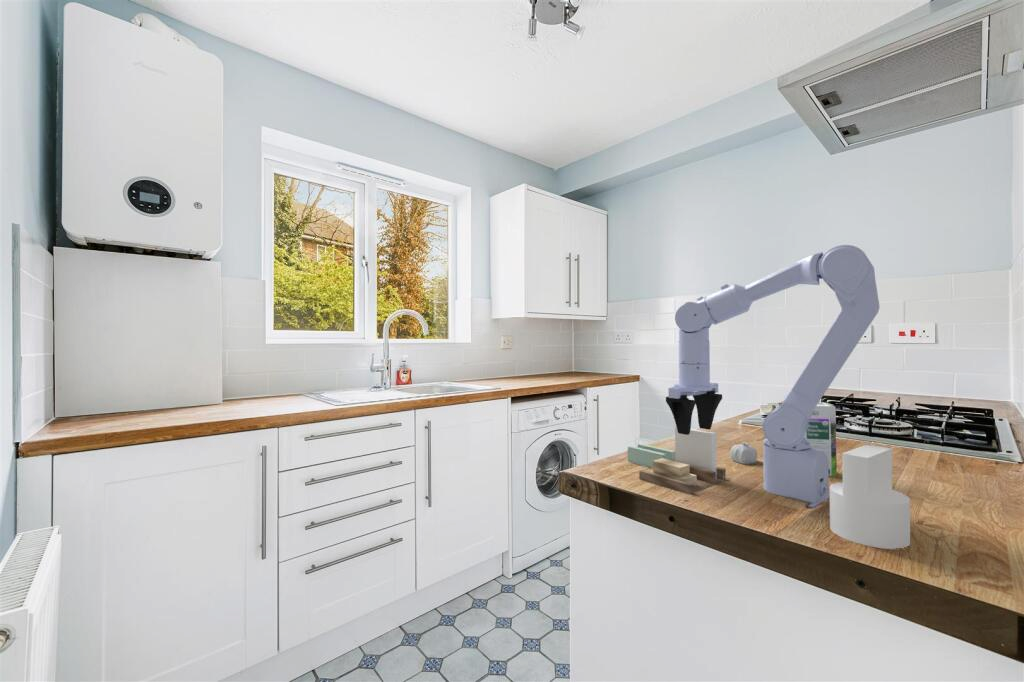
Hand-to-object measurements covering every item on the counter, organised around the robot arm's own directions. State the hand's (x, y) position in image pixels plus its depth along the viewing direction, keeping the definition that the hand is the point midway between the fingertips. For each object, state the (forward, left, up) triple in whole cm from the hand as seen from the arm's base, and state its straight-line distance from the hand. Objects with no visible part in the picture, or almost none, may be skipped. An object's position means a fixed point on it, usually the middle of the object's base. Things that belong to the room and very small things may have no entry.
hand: (694, 431), depth 89 cm
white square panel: (0, 0, -9) cm, 9 cm away
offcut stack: (0, +7, -9) cm, 11 cm away
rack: (0, +3, -10) cm, 10 cm away
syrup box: (-13, -23, -10) cm, 28 cm away
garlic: (-1, -18, -10) cm, 20 cm away
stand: (+10, 0, -10) cm, 14 cm away
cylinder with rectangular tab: (-29, +3, -10) cm, 31 cm away
